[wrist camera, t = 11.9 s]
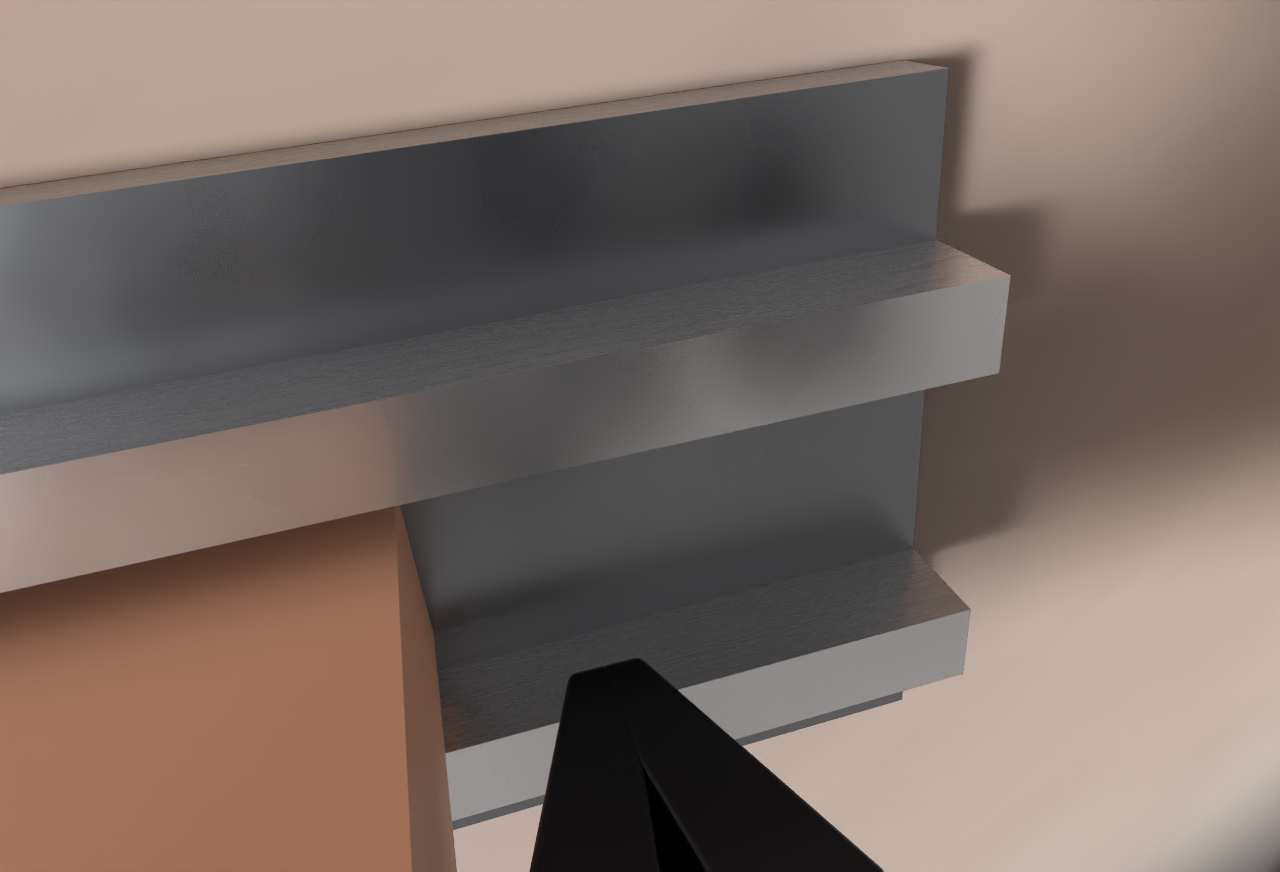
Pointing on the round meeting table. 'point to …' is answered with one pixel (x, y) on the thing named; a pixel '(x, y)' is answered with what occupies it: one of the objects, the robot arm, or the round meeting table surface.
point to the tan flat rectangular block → (228, 711)
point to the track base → (529, 390)
